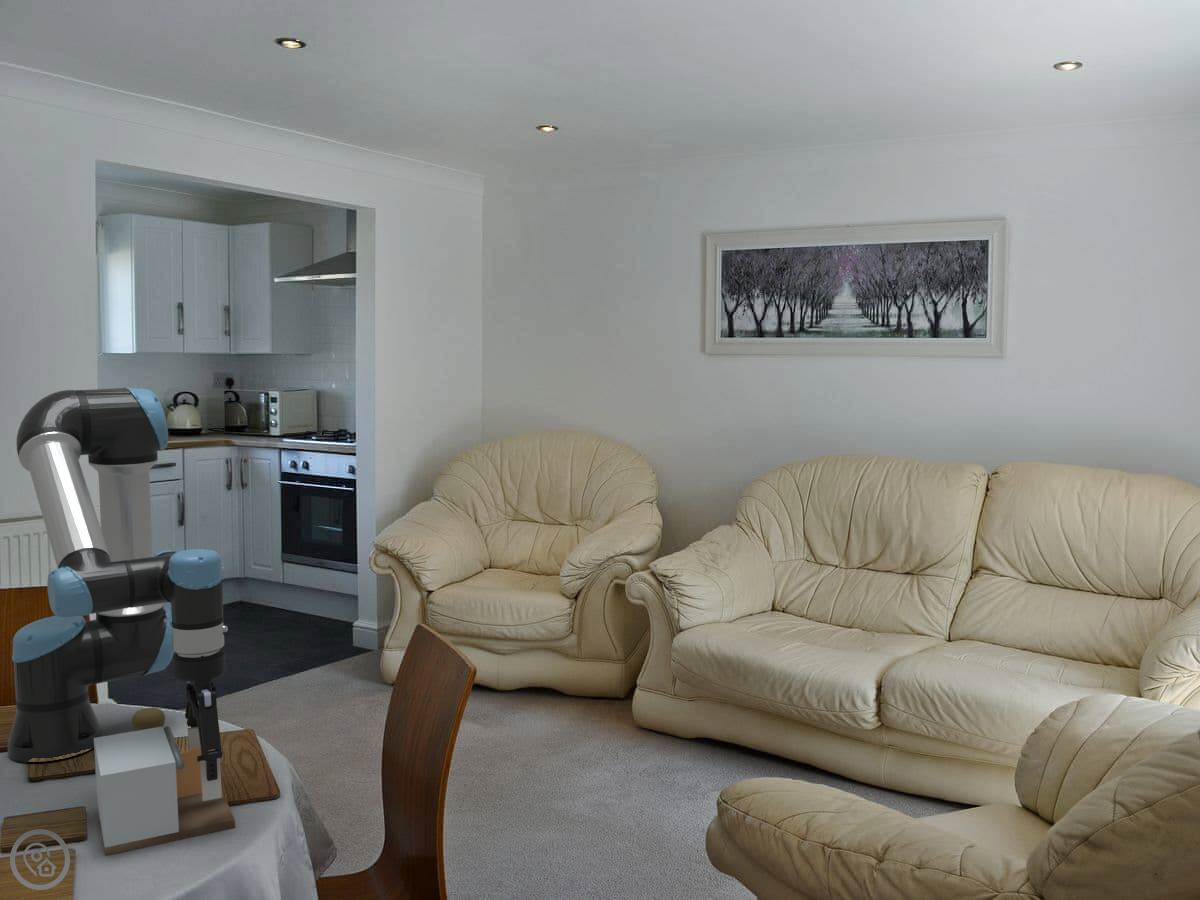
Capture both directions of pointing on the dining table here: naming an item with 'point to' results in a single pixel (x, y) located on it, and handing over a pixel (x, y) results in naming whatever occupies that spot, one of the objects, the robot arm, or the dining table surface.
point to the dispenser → (137, 784)
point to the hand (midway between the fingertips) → (205, 781)
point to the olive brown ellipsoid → (148, 719)
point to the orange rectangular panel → (189, 774)
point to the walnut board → (187, 822)
